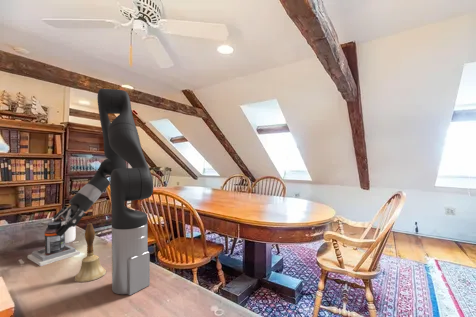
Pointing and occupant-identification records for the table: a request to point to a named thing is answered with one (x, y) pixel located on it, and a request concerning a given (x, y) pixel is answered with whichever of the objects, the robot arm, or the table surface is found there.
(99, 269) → the hand bell
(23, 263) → the table surface
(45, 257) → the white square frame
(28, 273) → the table surface
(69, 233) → the mug
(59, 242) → the supplement bottle
